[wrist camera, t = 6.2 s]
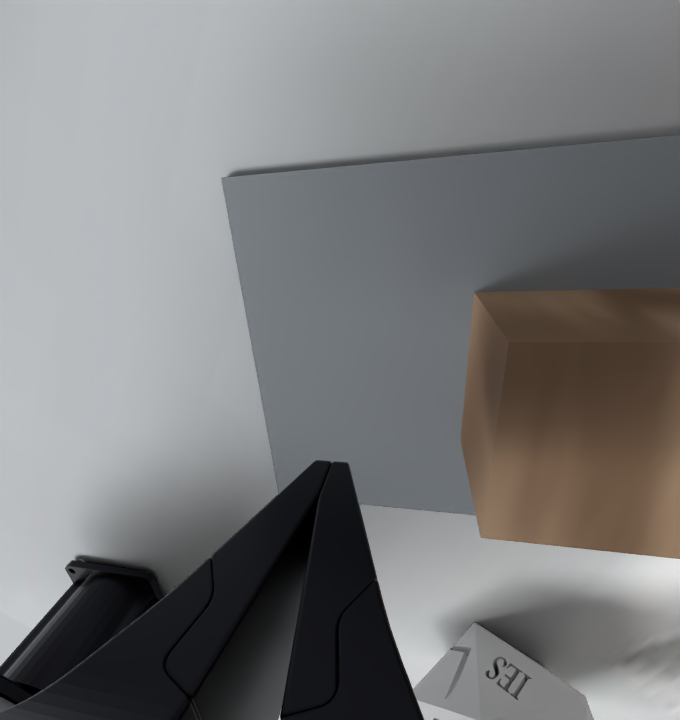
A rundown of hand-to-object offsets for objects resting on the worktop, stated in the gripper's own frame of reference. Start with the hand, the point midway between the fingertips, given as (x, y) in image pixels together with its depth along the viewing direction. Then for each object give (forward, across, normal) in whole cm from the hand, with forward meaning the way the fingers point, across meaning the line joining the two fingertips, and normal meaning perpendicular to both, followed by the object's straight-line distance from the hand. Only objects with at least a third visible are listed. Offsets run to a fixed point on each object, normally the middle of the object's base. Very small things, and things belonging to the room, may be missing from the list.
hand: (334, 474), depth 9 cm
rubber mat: (+6, -4, 0) cm, 7 cm away
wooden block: (+3, -4, 0) cm, 5 cm away
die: (+6, -7, +18) cm, 20 cm away
